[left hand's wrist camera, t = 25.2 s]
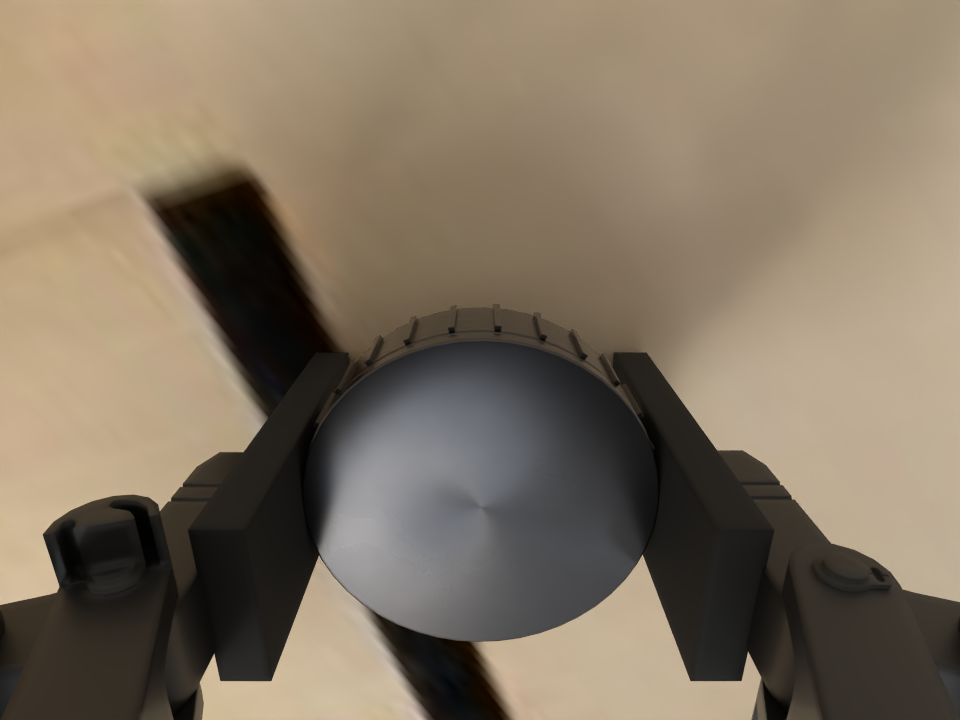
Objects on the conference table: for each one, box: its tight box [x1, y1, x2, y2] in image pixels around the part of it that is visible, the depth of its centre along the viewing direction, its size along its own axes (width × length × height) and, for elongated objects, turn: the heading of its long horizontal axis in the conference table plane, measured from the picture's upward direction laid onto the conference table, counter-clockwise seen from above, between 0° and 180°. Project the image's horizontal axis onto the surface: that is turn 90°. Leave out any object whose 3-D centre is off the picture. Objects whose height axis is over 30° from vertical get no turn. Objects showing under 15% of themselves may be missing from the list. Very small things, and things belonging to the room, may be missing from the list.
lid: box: [302, 304, 660, 642], centre depth 11 cm, size 6×6×2 cm
